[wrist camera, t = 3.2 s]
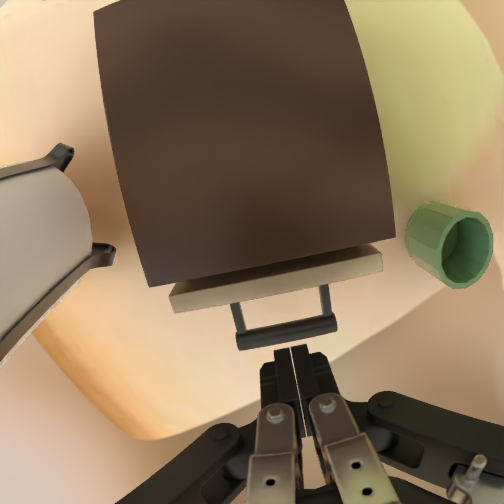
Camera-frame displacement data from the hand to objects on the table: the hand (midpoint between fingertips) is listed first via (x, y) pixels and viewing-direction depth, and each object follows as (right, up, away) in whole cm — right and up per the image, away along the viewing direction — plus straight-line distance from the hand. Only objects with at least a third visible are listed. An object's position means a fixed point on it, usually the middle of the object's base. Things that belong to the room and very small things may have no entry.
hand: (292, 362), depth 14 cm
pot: (+15, +7, +12) cm, 20 cm away
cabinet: (-2, +15, +9) cm, 18 cm away
